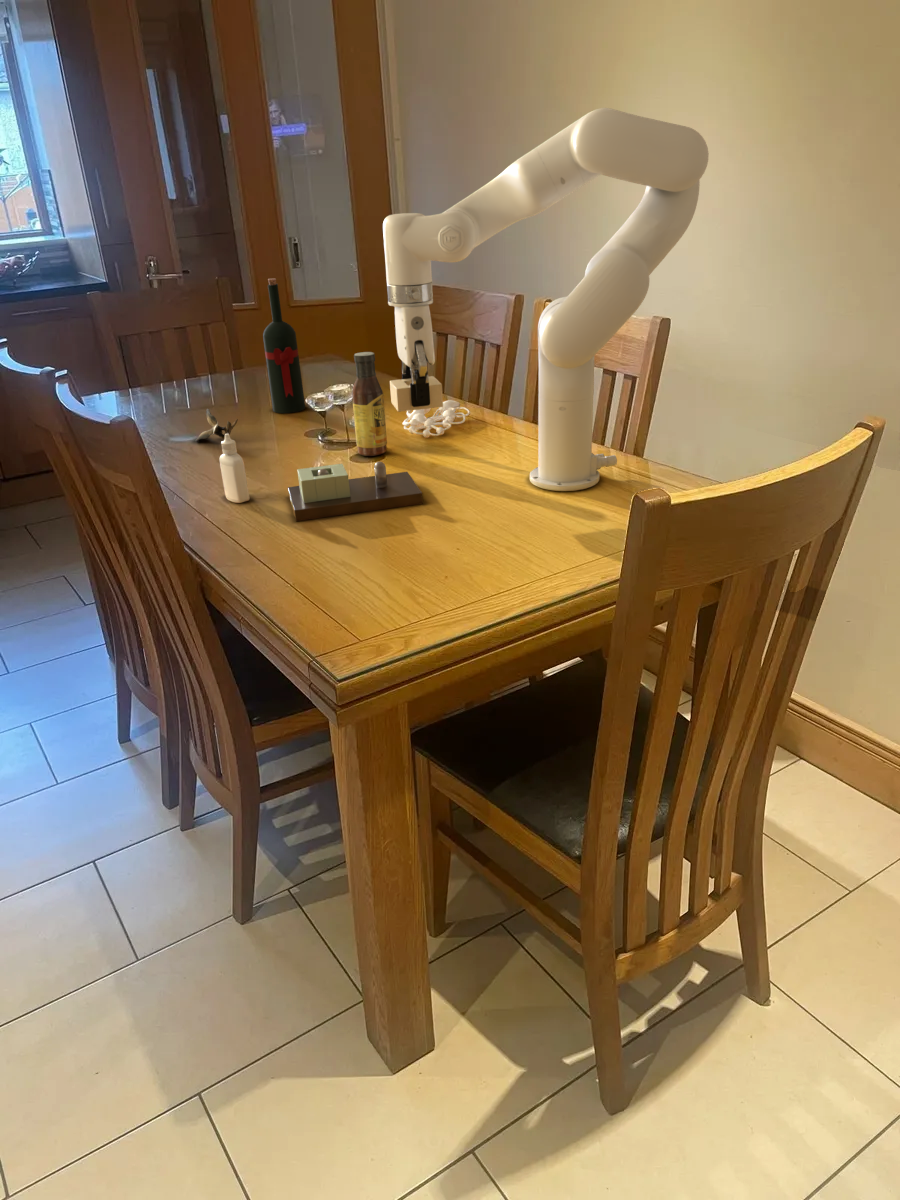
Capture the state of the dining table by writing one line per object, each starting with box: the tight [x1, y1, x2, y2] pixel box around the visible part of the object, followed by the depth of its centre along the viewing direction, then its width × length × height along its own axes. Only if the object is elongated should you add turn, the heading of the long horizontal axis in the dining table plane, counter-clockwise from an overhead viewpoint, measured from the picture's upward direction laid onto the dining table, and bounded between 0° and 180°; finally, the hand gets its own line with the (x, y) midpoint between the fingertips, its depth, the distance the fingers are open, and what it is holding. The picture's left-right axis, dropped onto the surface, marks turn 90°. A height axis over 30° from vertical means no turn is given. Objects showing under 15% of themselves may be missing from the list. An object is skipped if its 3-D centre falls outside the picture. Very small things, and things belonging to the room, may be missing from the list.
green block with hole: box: [296, 463, 350, 503], centre depth 150 cm, size 8×6×4 cm
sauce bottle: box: [351, 351, 388, 457], centre depth 172 cm, size 6×6×20 cm
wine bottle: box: [262, 277, 306, 414], centre depth 202 cm, size 8×10×30 cm
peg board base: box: [287, 461, 424, 522], centre depth 151 cm, size 22×12×6 cm, turn 105°
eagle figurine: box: [194, 408, 239, 442], centre depth 188 cm, size 8×7×9 cm
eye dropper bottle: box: [218, 433, 250, 504], centre depth 153 cm, size 4×6×12 cm
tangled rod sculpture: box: [402, 399, 471, 439], centre depth 190 cm, size 19×14×4 cm
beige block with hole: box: [389, 375, 444, 413], centre depth 152 cm, size 8×6×4 cm
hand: (416, 399), depth 152 cm, fingers closed on beige block with hole, 6 cm apart
